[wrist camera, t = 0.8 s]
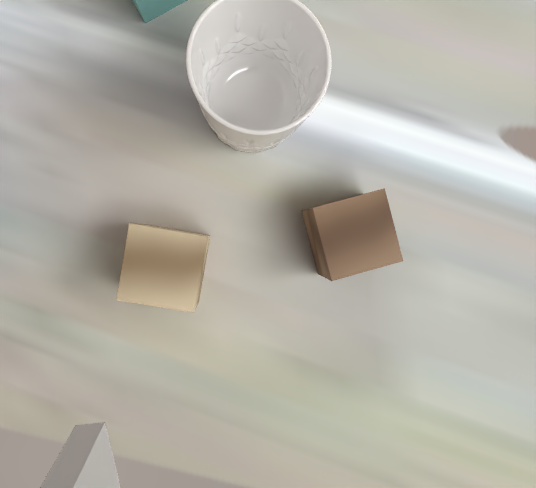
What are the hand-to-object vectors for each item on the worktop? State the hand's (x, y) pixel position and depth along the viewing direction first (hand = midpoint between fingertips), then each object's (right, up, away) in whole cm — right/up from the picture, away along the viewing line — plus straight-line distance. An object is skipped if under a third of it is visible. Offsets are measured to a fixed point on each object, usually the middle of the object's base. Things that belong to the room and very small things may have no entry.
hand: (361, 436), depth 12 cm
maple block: (-10, +4, +23) cm, 25 cm away
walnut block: (+3, +6, +24) cm, 25 cm away
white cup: (-4, +15, +23) cm, 28 cm away
